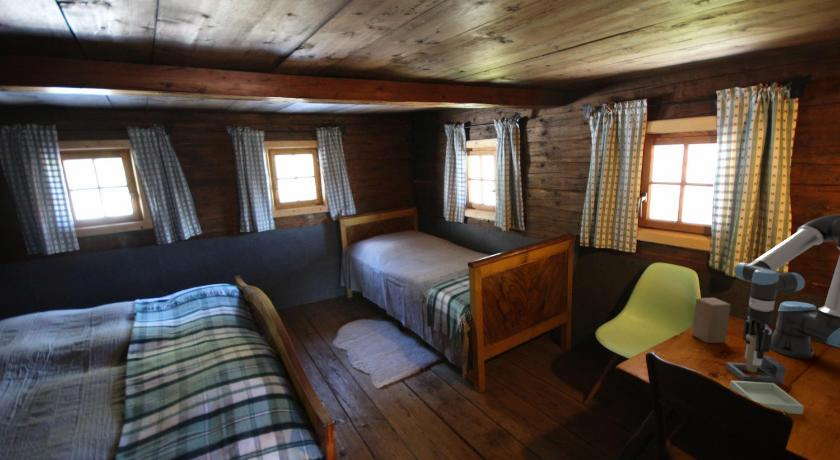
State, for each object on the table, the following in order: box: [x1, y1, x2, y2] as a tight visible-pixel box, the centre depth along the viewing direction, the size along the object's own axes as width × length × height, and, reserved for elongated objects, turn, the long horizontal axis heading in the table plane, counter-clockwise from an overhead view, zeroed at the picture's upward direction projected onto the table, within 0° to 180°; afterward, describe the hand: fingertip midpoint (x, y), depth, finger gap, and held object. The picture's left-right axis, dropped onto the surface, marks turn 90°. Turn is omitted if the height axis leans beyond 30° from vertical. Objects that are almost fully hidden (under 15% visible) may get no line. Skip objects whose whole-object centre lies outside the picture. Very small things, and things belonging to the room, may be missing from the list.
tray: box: [729, 380, 805, 415], centre depth 141 cm, size 15×14×3 cm
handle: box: [746, 334, 759, 374], centre depth 155 cm, size 5×6×15 cm
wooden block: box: [691, 297, 732, 344], centre depth 186 cm, size 10×10×20 cm
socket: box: [725, 355, 787, 385], centre depth 156 cm, size 15×11×7 cm
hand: (752, 361), depth 155 cm, fingers closed on handle, 4 cm apart
